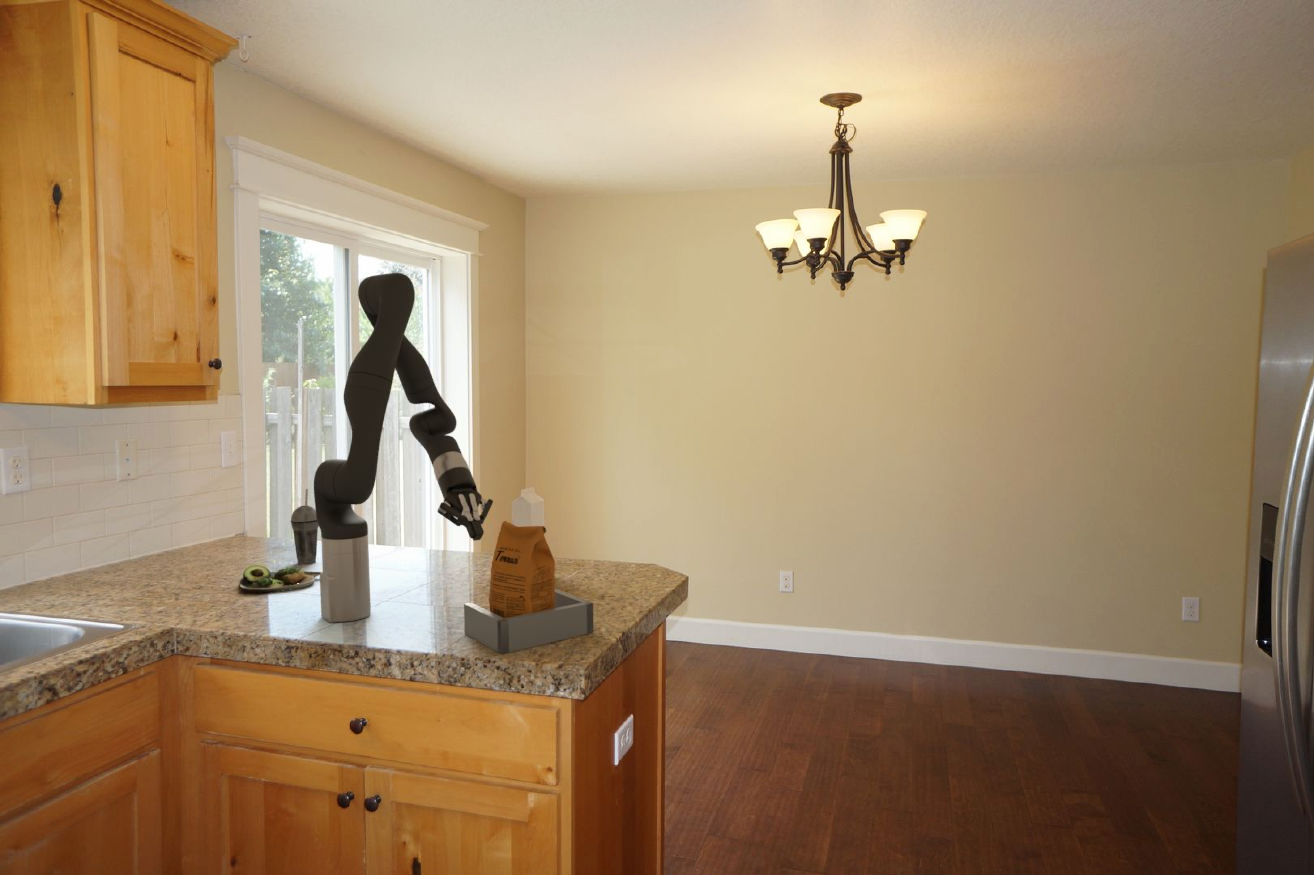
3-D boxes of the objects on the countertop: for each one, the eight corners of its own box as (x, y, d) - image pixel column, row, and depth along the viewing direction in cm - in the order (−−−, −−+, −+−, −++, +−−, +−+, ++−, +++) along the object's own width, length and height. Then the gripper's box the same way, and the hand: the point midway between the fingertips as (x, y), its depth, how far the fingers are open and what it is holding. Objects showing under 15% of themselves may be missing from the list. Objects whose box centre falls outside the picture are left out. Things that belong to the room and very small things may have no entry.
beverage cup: (286, 564, 230) (283, 490, 228) (304, 559, 237) (301, 487, 235) (308, 566, 227) (305, 491, 226) (326, 560, 234) (324, 488, 233)
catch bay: (501, 654, 156) (500, 621, 155) (464, 633, 168) (464, 603, 167) (593, 632, 168) (593, 602, 167) (552, 615, 180) (552, 587, 180)
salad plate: (322, 572, 222) (322, 555, 221) (328, 588, 206) (328, 569, 205) (239, 581, 213) (238, 563, 213) (239, 598, 197) (238, 578, 197)
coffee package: (519, 622, 175) (516, 516, 173) (563, 634, 167) (561, 522, 165) (481, 635, 167) (478, 523, 165) (525, 647, 159) (523, 530, 158)
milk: (512, 576, 215) (510, 489, 213) (526, 571, 220) (524, 486, 218) (533, 578, 212) (530, 490, 210) (546, 573, 218) (544, 487, 216)
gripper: (430, 466, 186) (454, 530, 177) (486, 464, 194) (512, 524, 185) (421, 489, 190) (444, 551, 181) (475, 485, 198) (500, 545, 189)
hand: (478, 538), depth 183 cm, fingers closed
